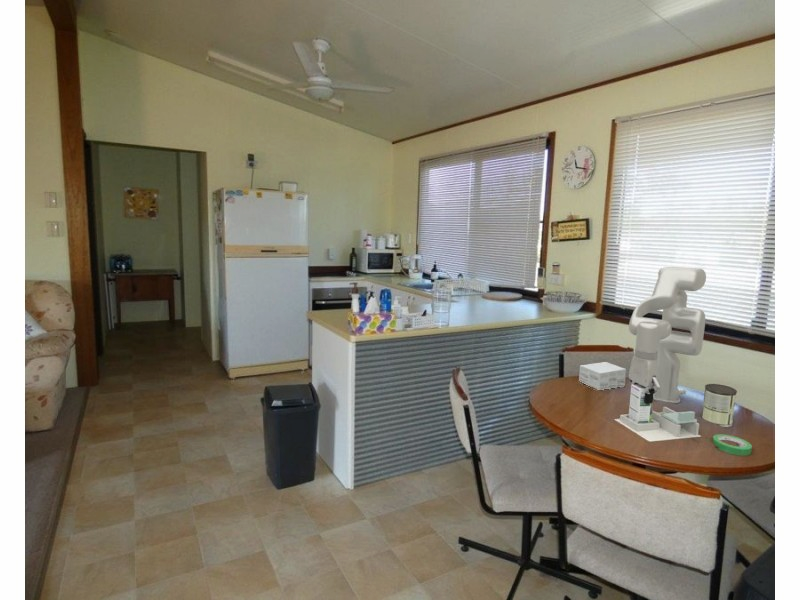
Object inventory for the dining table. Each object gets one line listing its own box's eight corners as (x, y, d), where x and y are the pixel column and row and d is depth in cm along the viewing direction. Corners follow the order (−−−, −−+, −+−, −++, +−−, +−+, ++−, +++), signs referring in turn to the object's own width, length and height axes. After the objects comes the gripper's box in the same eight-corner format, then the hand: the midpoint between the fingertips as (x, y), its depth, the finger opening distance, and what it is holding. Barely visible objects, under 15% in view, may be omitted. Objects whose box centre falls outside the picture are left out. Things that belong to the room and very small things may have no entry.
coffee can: (697, 414, 185) (701, 382, 182) (727, 418, 181) (731, 385, 179) (705, 425, 175) (709, 390, 173) (736, 429, 172) (741, 394, 170)
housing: (661, 417, 182) (662, 404, 181) (701, 438, 163) (702, 424, 162) (613, 421, 177) (615, 408, 176) (649, 444, 159) (650, 429, 158)
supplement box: (603, 378, 229) (605, 361, 227) (625, 387, 217) (626, 368, 215) (577, 382, 223) (579, 364, 221) (598, 391, 211) (599, 372, 209)
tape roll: (752, 447, 158) (753, 440, 157) (749, 459, 149) (750, 452, 149) (714, 437, 165) (715, 431, 164) (709, 448, 157) (710, 441, 156)
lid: (681, 413, 171) (682, 404, 170) (696, 421, 164) (698, 412, 163) (661, 415, 169) (662, 406, 169) (677, 423, 162) (678, 413, 162)
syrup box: (636, 425, 169) (640, 389, 166) (627, 418, 175) (631, 383, 172) (651, 424, 169) (655, 388, 167) (641, 418, 175) (645, 383, 173)
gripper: (621, 348, 175) (617, 392, 178) (654, 361, 158) (649, 409, 161) (638, 347, 177) (634, 391, 180) (672, 360, 160) (667, 408, 163)
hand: (641, 399), depth 171 cm, fingers open, 6 cm apart
